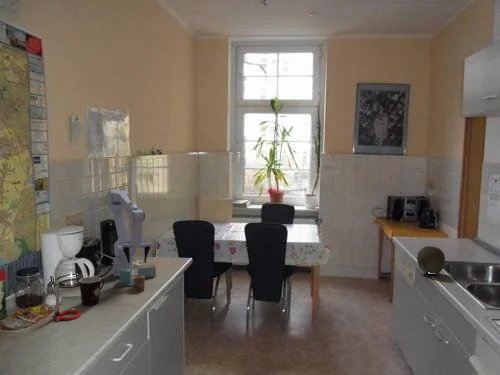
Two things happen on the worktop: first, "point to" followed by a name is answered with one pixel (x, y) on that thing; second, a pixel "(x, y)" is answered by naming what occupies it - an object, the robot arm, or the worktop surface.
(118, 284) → the mat
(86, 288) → the coffee mug
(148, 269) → the control box
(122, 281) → the teal block
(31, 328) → the worktop surface
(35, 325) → the worktop surface
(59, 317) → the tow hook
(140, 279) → the walnut block
